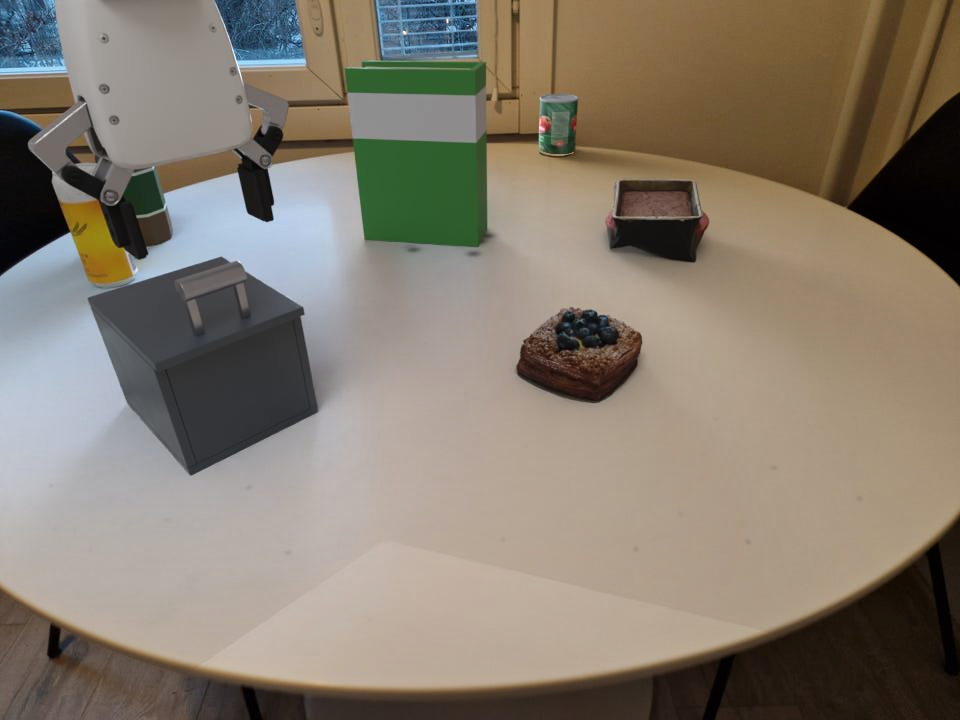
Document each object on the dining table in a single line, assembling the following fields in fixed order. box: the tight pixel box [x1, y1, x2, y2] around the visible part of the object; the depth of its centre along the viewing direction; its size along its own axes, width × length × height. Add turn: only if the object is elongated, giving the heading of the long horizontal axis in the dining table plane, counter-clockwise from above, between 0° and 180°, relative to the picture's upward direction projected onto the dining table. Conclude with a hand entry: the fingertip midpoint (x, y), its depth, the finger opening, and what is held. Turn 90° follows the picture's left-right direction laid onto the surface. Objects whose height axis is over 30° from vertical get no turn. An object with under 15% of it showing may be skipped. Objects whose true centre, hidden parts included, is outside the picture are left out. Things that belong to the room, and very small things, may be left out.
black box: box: [90, 306, 319, 476], centre depth 60 cm, size 15×13×11 cm
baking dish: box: [604, 177, 710, 263], centre depth 94 cm, size 14×18×10 cm
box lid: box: [86, 256, 305, 372], centre depth 55 cm, size 15×13×6 cm
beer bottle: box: [94, 154, 174, 247], centre depth 94 cm, size 8×8×24 cm
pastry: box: [515, 306, 643, 404], centre depth 66 cm, size 11×12×6 cm
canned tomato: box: [538, 93, 579, 154], centre depth 136 cm, size 8×8×11 cm
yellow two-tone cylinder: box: [51, 162, 139, 289], centre depth 84 cm, size 6×6×15 cm
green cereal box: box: [343, 59, 488, 248], centre depth 94 cm, size 18×7×24 cm, turn 79°
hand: (202, 234), depth 49 cm, fingers open, 9 cm apart
